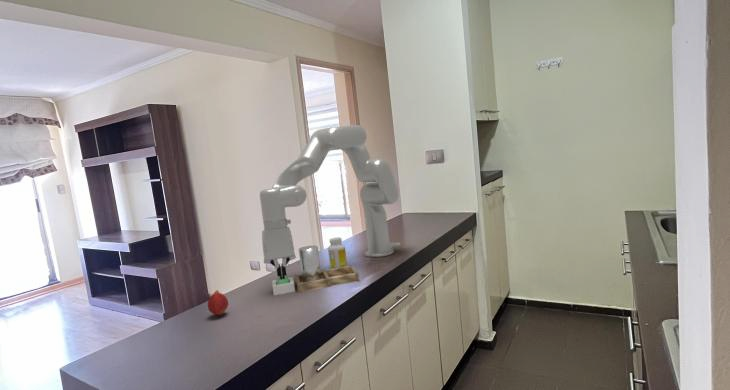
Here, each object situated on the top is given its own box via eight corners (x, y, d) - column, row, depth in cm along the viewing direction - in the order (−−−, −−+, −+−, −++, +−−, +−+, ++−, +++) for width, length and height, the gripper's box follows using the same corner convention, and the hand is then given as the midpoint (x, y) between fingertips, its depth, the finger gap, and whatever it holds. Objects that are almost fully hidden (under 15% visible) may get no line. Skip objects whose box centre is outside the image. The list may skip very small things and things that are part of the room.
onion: (210, 321, 115) (206, 295, 114) (208, 315, 120) (204, 290, 120) (230, 315, 118) (227, 290, 117) (228, 310, 123) (224, 285, 122)
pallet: (352, 274, 146) (351, 265, 146) (359, 283, 135) (358, 273, 134) (296, 284, 141) (294, 275, 141) (298, 295, 130) (297, 285, 129)
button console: (293, 288, 138) (292, 277, 137) (295, 294, 131) (293, 282, 130) (273, 291, 136) (272, 280, 136) (274, 298, 129) (272, 286, 129)
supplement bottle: (348, 267, 156) (345, 236, 155) (346, 272, 149) (342, 239, 148) (332, 268, 157) (328, 237, 155) (329, 273, 150) (325, 241, 149)
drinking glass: (320, 279, 141) (316, 244, 139) (323, 285, 134) (318, 248, 133) (302, 283, 139) (297, 247, 138) (304, 288, 133) (299, 251, 131)
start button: (289, 289, 136) (288, 275, 135) (290, 293, 132) (288, 278, 131) (278, 291, 135) (276, 277, 134) (278, 295, 131) (276, 280, 130)
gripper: (296, 220, 136) (303, 271, 138) (252, 226, 133) (260, 278, 135) (298, 223, 129) (305, 277, 131) (252, 230, 126) (259, 285, 128)
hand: (282, 277), depth 133 cm, fingers closed
